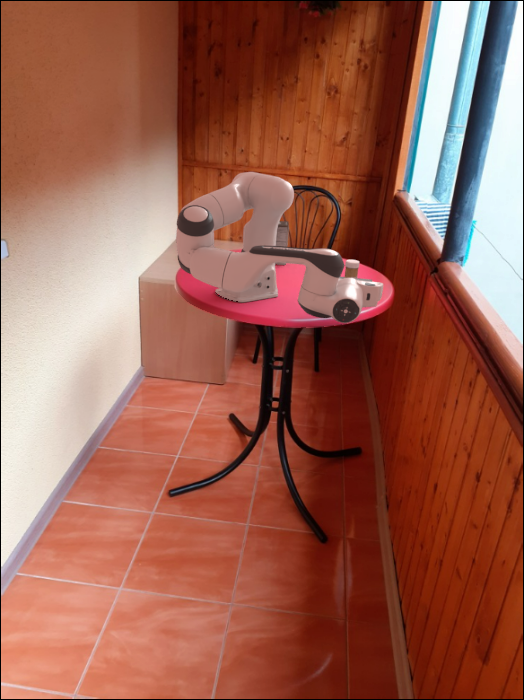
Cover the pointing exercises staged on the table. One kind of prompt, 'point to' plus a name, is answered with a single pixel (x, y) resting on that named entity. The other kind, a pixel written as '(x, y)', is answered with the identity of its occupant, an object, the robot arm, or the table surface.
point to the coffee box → (282, 236)
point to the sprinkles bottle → (351, 269)
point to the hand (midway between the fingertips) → (350, 280)
